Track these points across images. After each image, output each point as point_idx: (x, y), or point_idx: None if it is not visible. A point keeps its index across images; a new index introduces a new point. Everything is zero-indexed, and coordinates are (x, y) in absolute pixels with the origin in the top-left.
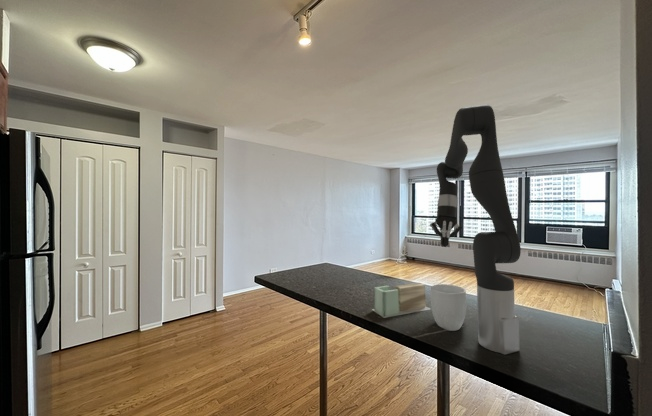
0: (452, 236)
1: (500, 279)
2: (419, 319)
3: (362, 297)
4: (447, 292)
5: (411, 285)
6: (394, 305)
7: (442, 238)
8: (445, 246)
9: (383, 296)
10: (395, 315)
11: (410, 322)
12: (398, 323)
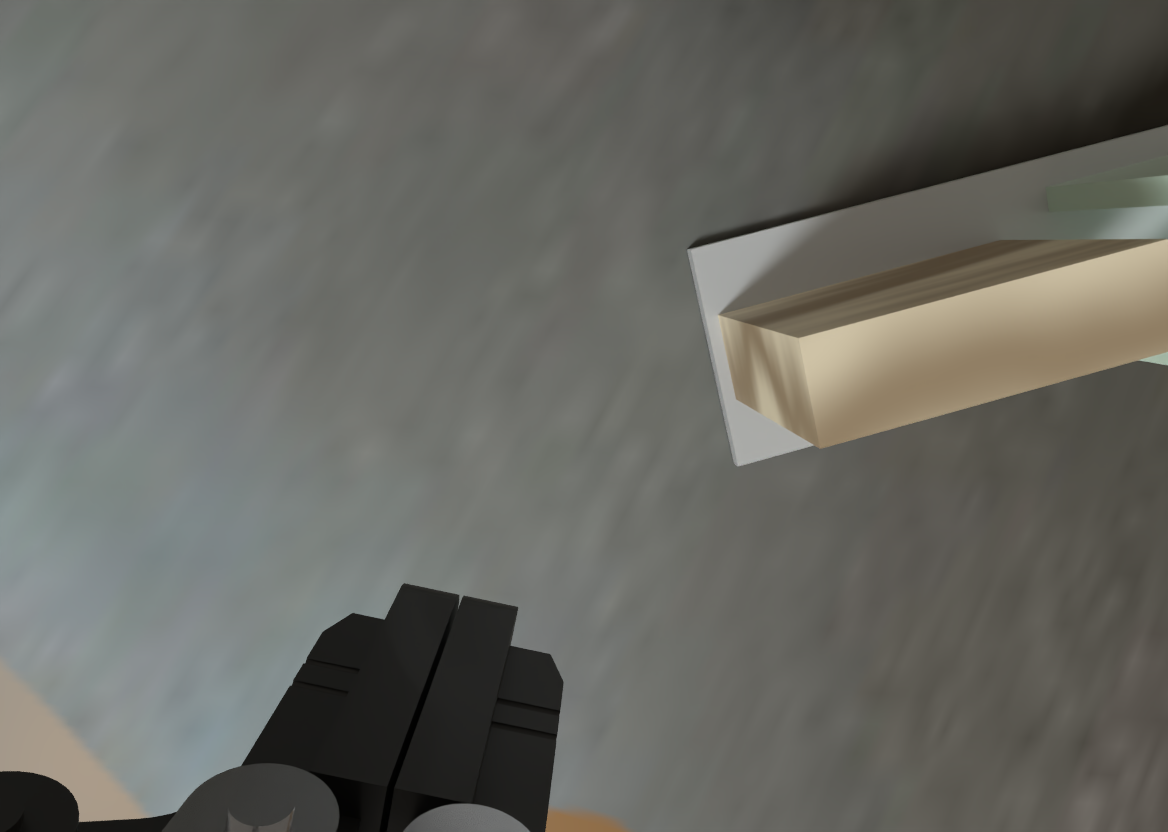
0: (17, 796)
1: None
2: (904, 61)
3: (1159, 685)
4: None
5: (983, 334)
6: (1149, 168)
7: (521, 813)
8: (445, 595)
9: None
10: (1092, 148)
11: (1012, 10)
12: (1119, 9)
